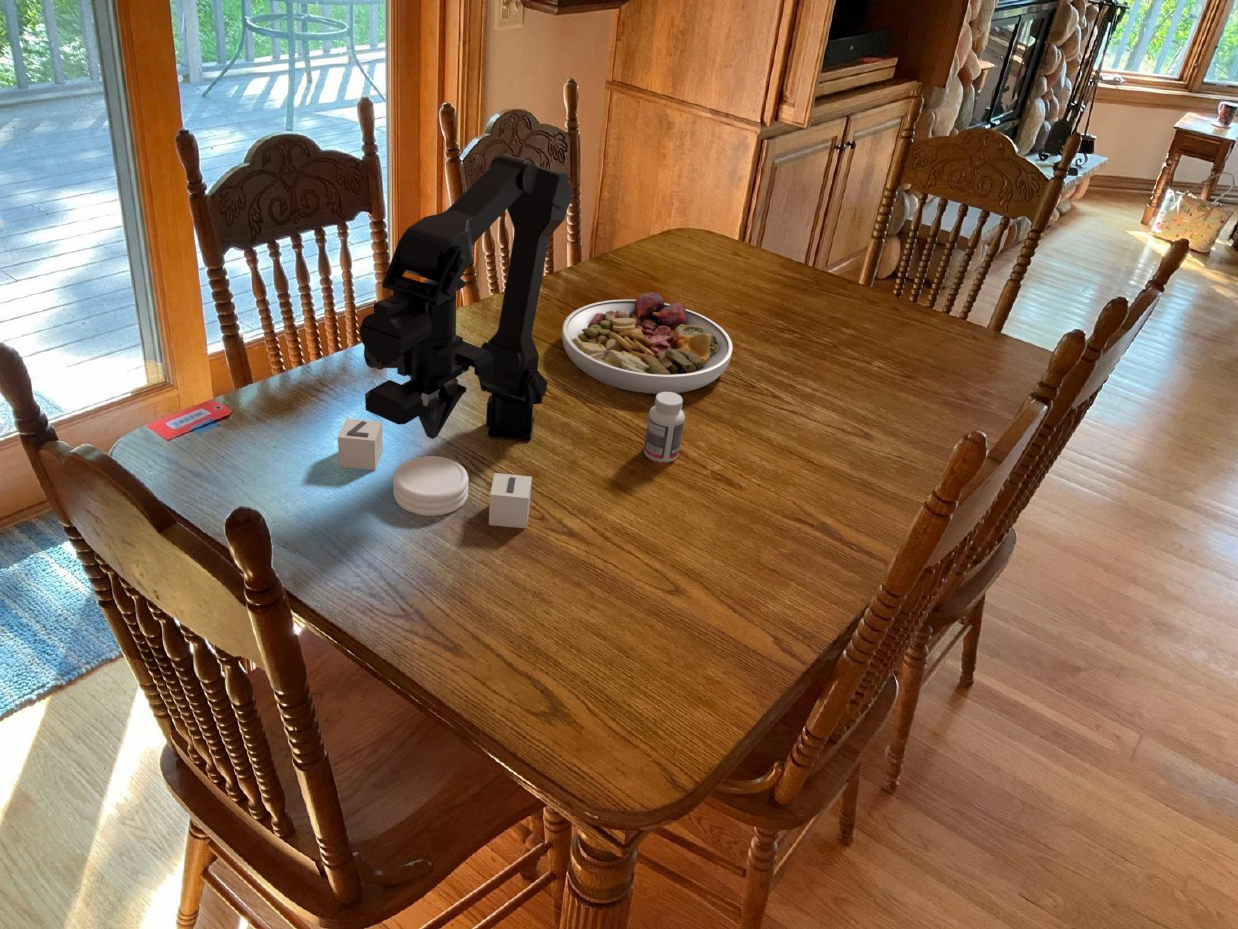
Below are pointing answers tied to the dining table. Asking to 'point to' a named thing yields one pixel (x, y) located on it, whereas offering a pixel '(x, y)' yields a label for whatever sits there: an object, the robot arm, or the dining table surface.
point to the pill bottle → (664, 428)
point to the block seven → (360, 444)
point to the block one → (510, 500)
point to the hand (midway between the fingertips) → (431, 437)
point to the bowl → (646, 345)
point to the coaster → (430, 486)
